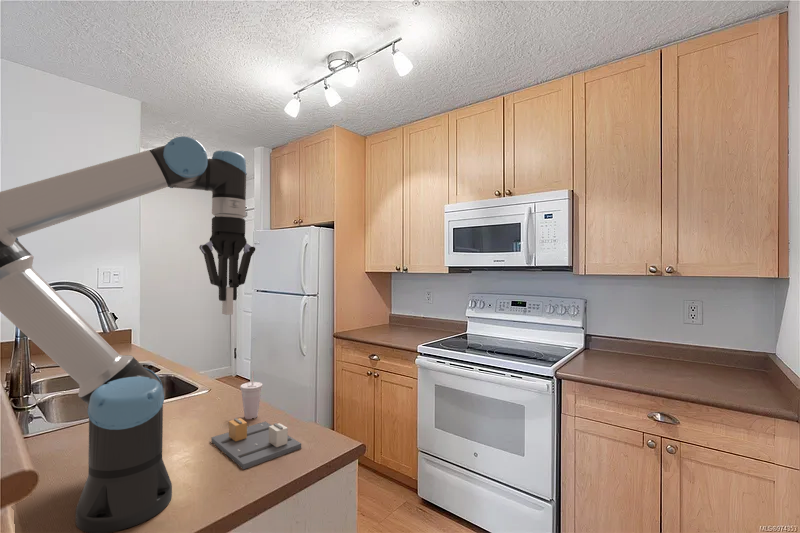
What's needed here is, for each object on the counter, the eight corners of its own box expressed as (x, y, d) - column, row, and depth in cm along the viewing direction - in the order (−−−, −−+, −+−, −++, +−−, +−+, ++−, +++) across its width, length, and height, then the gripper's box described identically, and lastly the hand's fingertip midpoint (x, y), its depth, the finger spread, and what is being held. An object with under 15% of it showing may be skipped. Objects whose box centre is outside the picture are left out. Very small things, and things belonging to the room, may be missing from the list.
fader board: (243, 469, 90) (243, 463, 90) (211, 441, 104) (211, 436, 104) (301, 448, 101) (301, 443, 101) (265, 425, 114) (265, 421, 114)
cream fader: (276, 447, 98) (276, 429, 98) (268, 441, 101) (268, 424, 101) (287, 443, 101) (287, 426, 101) (279, 438, 103) (279, 421, 103)
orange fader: (235, 441, 101) (235, 424, 101) (228, 436, 104) (229, 419, 104) (246, 437, 103) (247, 421, 103) (240, 433, 106) (240, 416, 106)
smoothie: (247, 422, 116) (248, 375, 116) (235, 417, 120) (236, 371, 120) (266, 416, 121) (267, 370, 121) (254, 411, 125) (255, 366, 125)
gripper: (206, 213, 89) (205, 318, 90) (261, 218, 99) (260, 313, 99) (194, 215, 95) (193, 314, 95) (247, 220, 104) (246, 310, 104)
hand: (227, 313), depth 97 cm, fingers closed
